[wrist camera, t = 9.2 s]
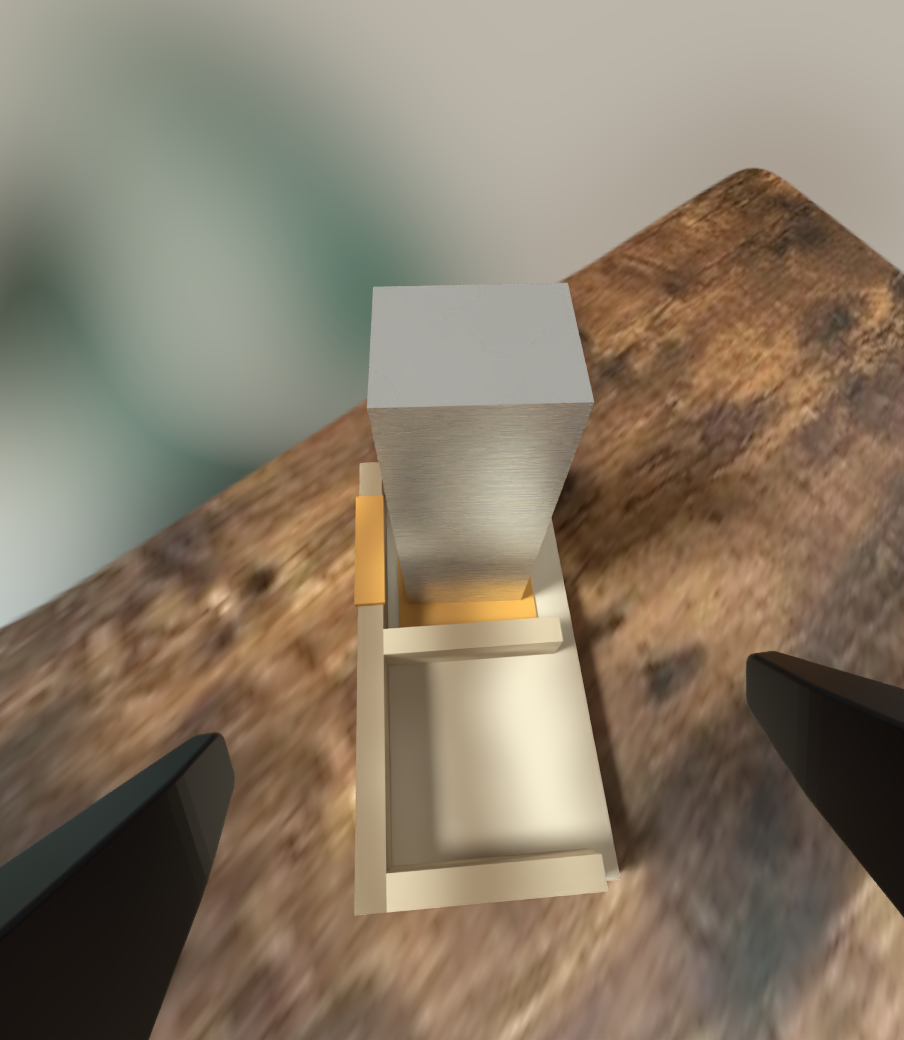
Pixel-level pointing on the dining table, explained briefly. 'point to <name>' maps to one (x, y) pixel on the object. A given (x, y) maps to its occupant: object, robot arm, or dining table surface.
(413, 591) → the brushed steel block
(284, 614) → the dining table surface
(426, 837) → the cream divided tray
